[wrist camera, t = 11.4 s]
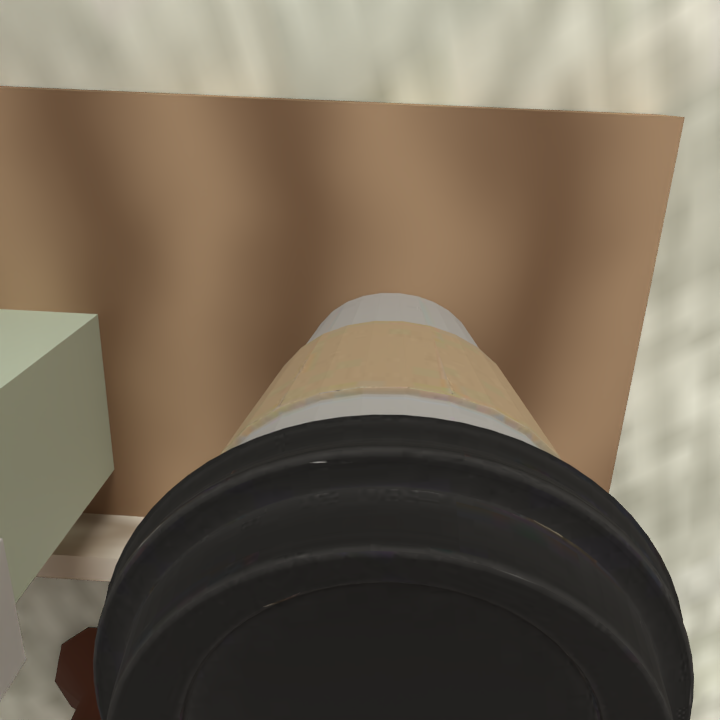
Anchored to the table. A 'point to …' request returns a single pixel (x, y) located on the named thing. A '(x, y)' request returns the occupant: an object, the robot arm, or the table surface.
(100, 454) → the pale green box
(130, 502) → the shelf board
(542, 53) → the table surface
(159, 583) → the coffee cup
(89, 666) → the ice cream bowl
